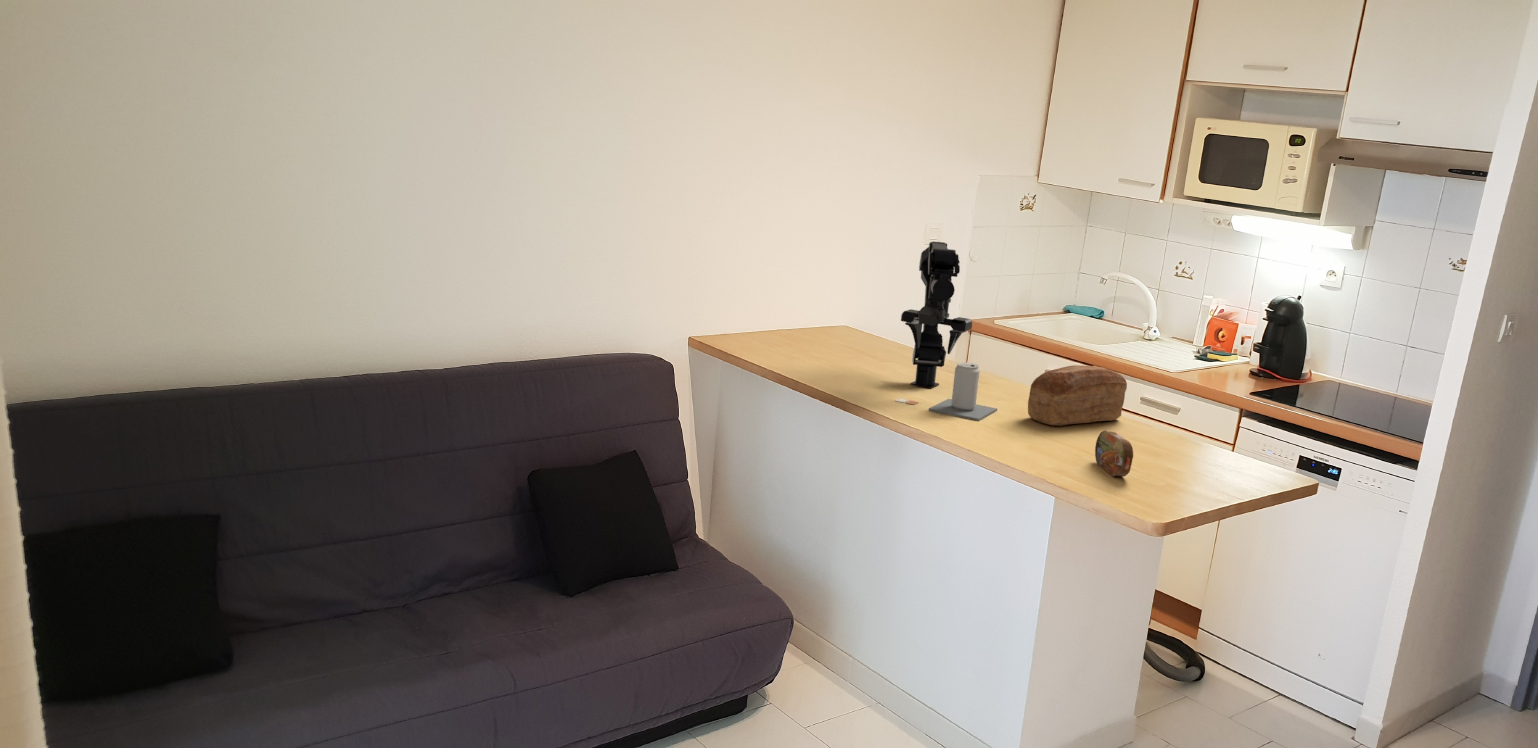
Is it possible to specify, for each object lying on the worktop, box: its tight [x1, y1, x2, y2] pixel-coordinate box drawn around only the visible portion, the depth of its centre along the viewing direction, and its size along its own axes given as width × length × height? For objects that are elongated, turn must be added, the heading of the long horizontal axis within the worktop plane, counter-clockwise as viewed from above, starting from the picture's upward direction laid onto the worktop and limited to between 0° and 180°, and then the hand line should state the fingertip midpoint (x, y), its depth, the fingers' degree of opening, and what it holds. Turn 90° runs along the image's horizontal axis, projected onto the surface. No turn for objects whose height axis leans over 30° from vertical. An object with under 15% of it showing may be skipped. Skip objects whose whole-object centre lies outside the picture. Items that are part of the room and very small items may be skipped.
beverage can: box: [951, 362, 980, 411], centre depth 283 cm, size 6×6×12 cm
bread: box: [1027, 364, 1128, 427], centre depth 282 cm, size 12×28×14 cm, turn 119°
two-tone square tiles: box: [894, 397, 920, 406], centre depth 289 cm, size 3×6×1 cm, turn 59°
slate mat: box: [928, 398, 998, 422], centre depth 284 cm, size 14×14×1 cm
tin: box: [1094, 430, 1134, 478], centre depth 240 cm, size 15×3×8 cm, turn 5°
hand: (933, 351), depth 293 cm, fingers open, 9 cm apart
